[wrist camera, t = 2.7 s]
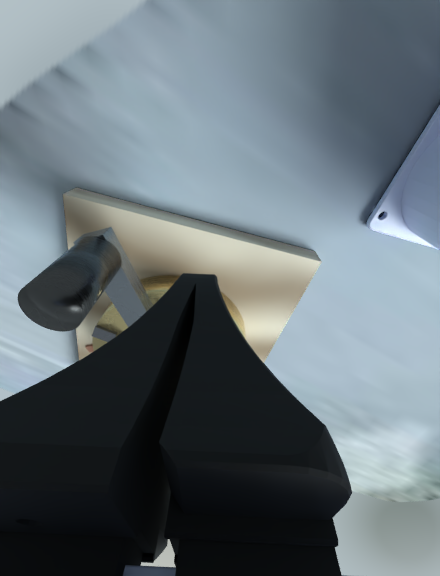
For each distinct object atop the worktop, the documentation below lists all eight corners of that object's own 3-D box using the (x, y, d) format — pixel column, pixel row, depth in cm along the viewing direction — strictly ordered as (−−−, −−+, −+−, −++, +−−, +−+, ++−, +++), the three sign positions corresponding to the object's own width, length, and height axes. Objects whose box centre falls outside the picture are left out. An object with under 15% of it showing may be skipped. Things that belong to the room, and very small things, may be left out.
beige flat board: (76, 187, 15) (60, 194, 14) (315, 251, 17) (322, 263, 16) (88, 366, 25) (79, 381, 24) (238, 393, 27) (238, 408, 26)
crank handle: (256, 366, 22) (267, 463, 16) (143, 382, 24) (114, 475, 18) (205, 187, 13) (184, 247, 7) (36, 234, 15) (-93, 313, 9)
